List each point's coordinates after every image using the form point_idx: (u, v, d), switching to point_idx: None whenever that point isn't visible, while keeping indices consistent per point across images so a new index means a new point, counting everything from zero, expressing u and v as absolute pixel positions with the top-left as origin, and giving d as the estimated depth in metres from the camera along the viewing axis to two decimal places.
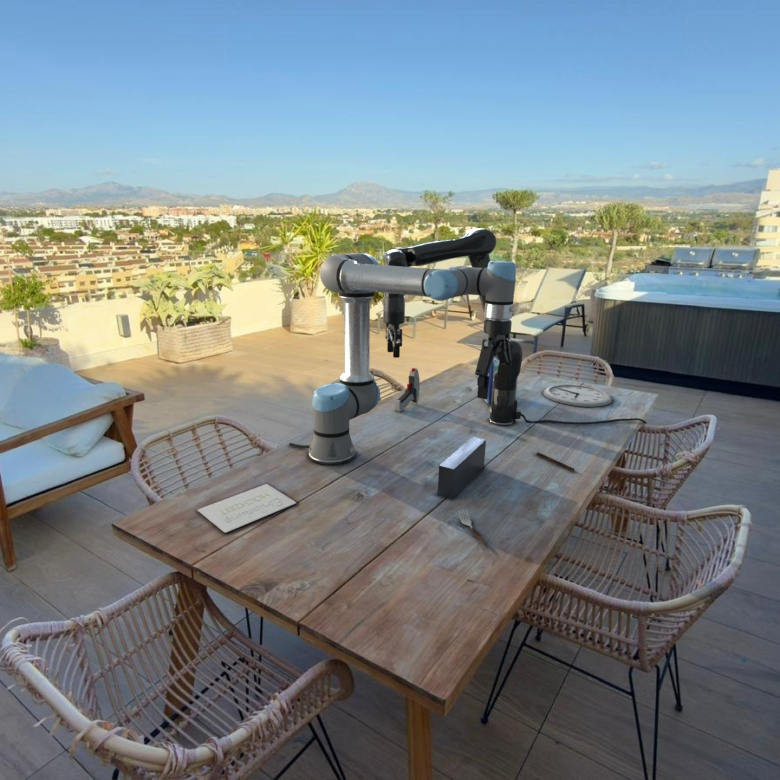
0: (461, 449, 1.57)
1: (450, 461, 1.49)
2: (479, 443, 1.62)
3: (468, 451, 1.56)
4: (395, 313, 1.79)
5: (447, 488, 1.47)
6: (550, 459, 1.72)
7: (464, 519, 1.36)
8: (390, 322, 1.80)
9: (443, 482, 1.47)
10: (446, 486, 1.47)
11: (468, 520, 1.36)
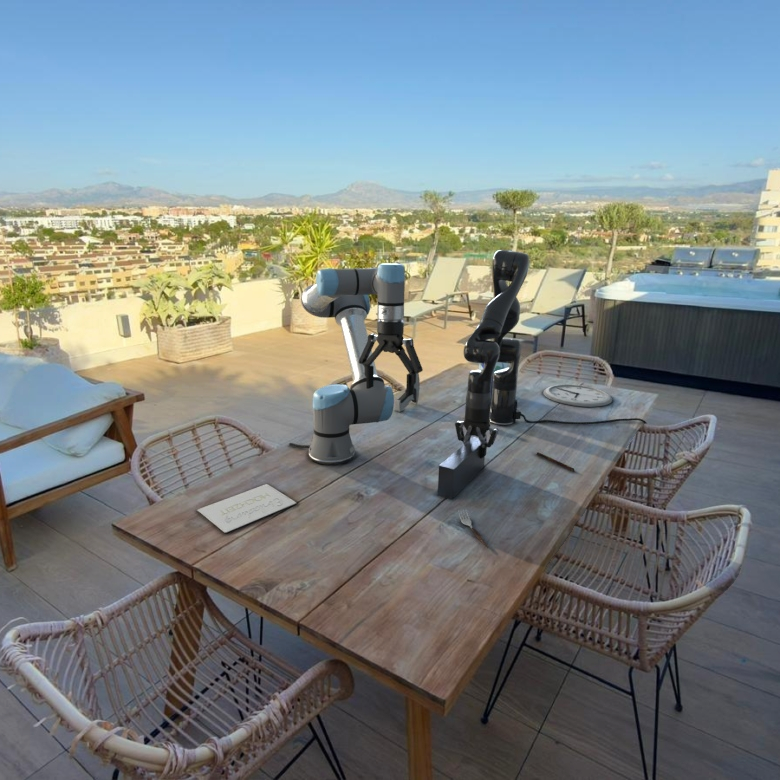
0: (461, 449, 1.57)
1: (450, 461, 1.49)
2: (479, 443, 1.62)
3: (468, 451, 1.56)
4: None
5: (447, 488, 1.47)
6: (550, 459, 1.72)
7: (464, 519, 1.36)
8: None
9: (443, 482, 1.47)
10: (446, 486, 1.47)
11: (468, 520, 1.36)
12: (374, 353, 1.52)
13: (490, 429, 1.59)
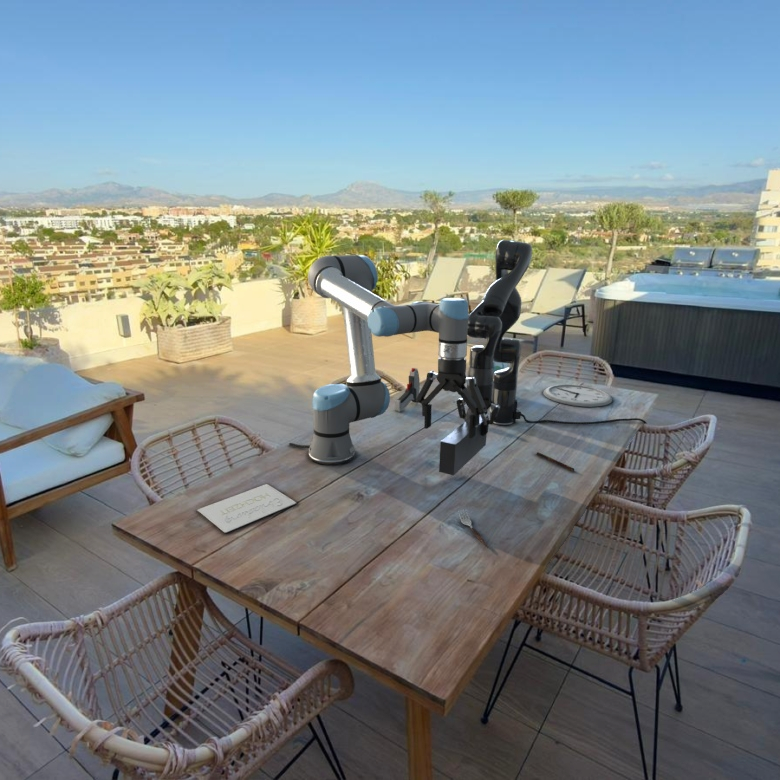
0: (463, 426, 1.55)
1: (451, 437, 1.47)
2: (481, 420, 1.60)
3: None
4: None
5: (448, 464, 1.45)
6: (550, 459, 1.72)
7: (464, 519, 1.36)
8: None
9: (444, 458, 1.45)
10: (448, 462, 1.45)
11: (468, 520, 1.36)
12: (434, 392, 1.44)
13: (492, 406, 1.57)
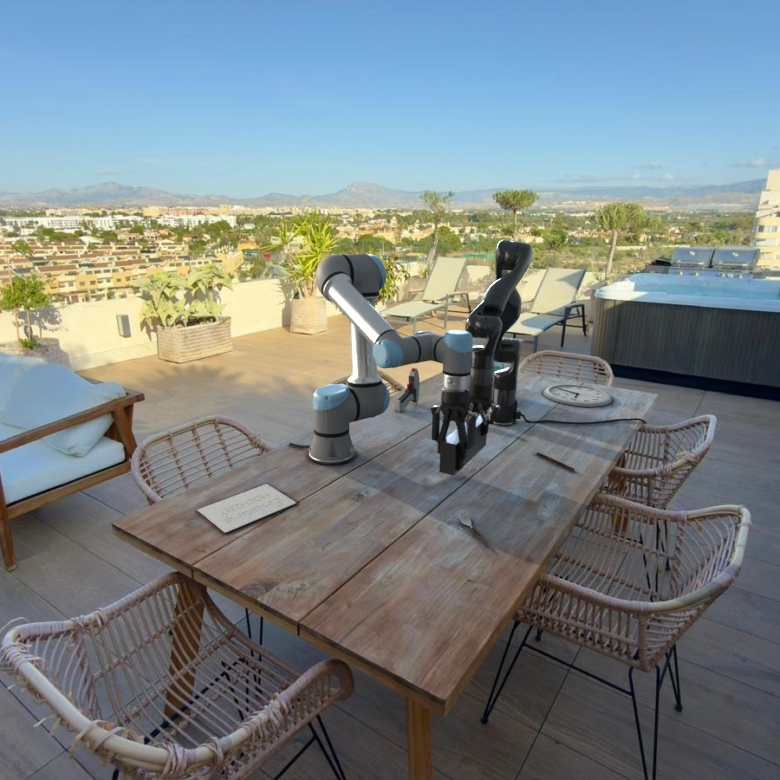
0: None
1: (452, 437, 1.47)
2: (481, 420, 1.60)
3: None
4: None
5: (449, 464, 1.45)
6: (550, 459, 1.72)
7: (464, 519, 1.36)
8: None
9: (445, 458, 1.45)
10: (448, 462, 1.45)
11: (468, 520, 1.36)
12: (443, 426, 1.45)
13: (492, 406, 1.57)
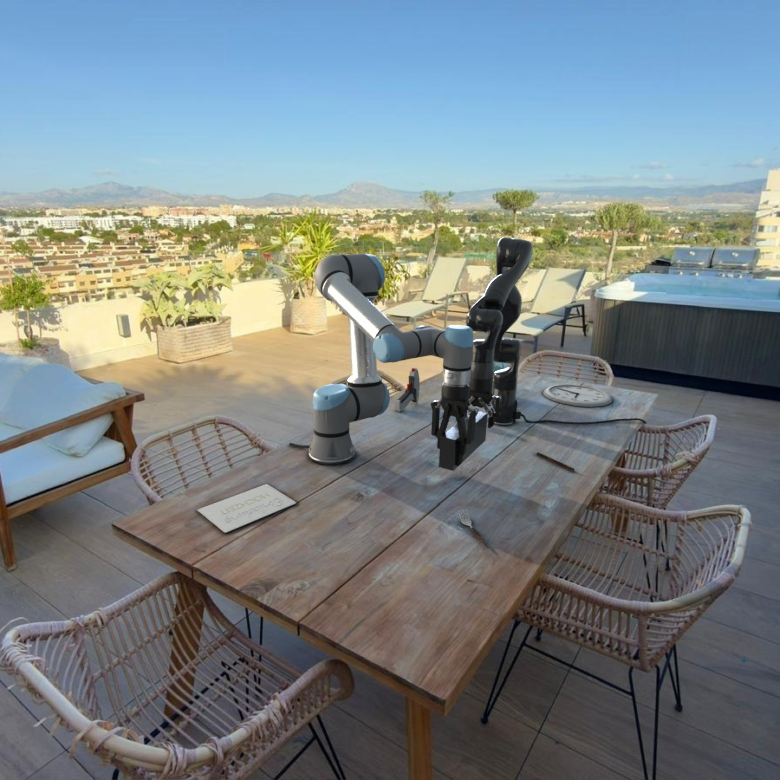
0: None
1: (451, 433, 1.46)
2: (481, 416, 1.59)
3: None
4: None
5: (448, 459, 1.45)
6: (550, 459, 1.72)
7: (464, 519, 1.36)
8: None
9: (444, 453, 1.45)
10: (448, 457, 1.44)
11: (468, 520, 1.36)
12: (443, 421, 1.45)
13: (493, 398, 1.56)
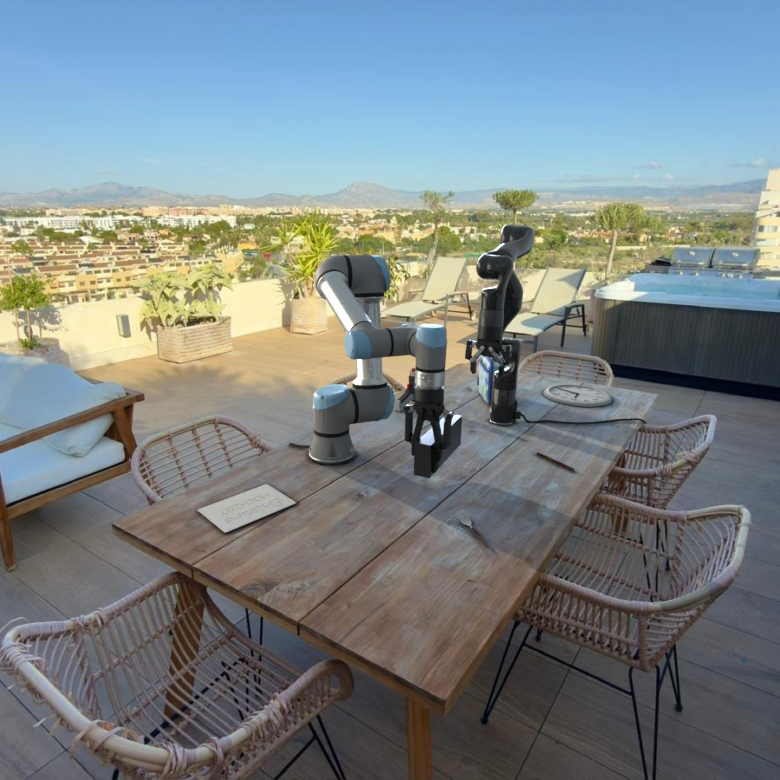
0: None
1: (426, 438, 1.38)
2: (455, 419, 1.52)
3: None
4: None
5: (424, 466, 1.36)
6: (550, 459, 1.72)
7: (464, 519, 1.36)
8: None
9: (419, 460, 1.37)
10: (423, 464, 1.36)
11: (468, 520, 1.36)
12: (417, 426, 1.36)
13: (503, 346, 1.56)
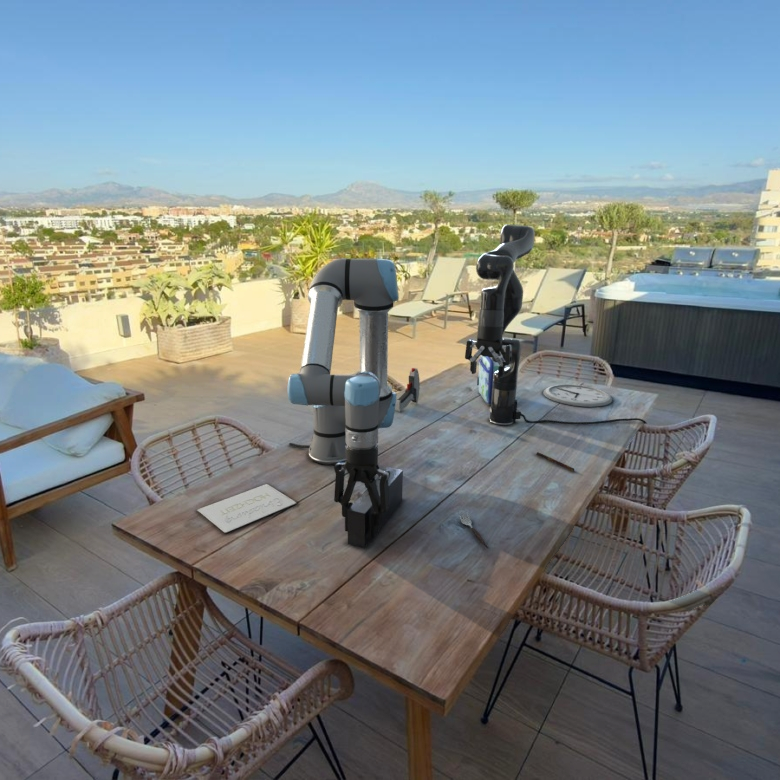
0: None
1: (360, 503, 1.26)
2: (395, 475, 1.40)
3: None
4: None
5: (358, 535, 1.24)
6: (550, 459, 1.72)
7: (464, 519, 1.36)
8: None
9: (353, 528, 1.24)
10: (358, 533, 1.24)
11: (468, 520, 1.36)
12: (348, 487, 1.23)
13: (503, 346, 1.56)
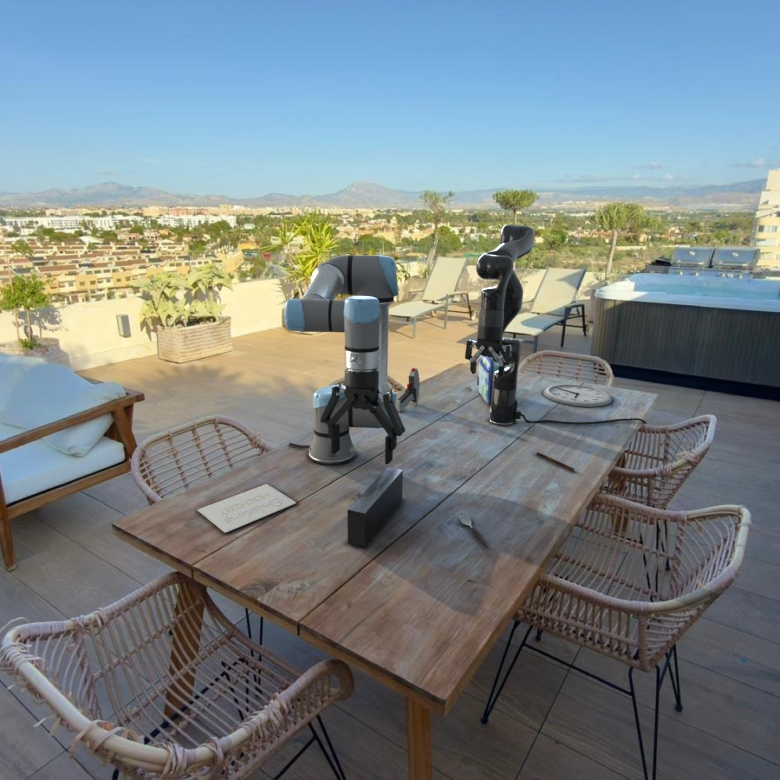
0: (375, 485, 1.34)
1: (361, 503, 1.26)
2: (395, 475, 1.40)
3: (382, 487, 1.34)
4: None
5: (358, 535, 1.24)
6: (550, 459, 1.72)
7: (464, 519, 1.36)
8: None
9: (353, 528, 1.24)
10: (358, 533, 1.24)
11: (468, 520, 1.36)
12: (341, 410, 1.18)
13: (503, 346, 1.56)
